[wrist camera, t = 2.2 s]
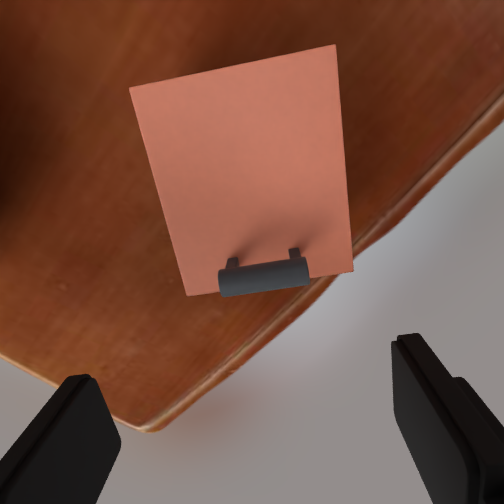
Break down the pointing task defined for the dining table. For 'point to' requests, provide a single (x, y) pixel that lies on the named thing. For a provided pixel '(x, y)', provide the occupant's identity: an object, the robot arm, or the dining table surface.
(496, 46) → the dining table surface
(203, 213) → the lunchbox lid
